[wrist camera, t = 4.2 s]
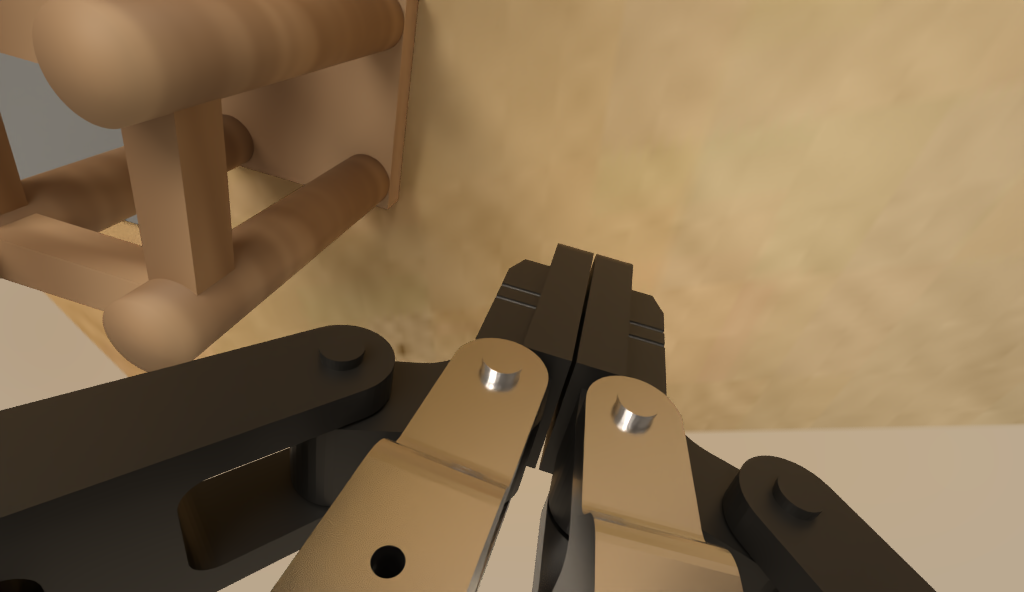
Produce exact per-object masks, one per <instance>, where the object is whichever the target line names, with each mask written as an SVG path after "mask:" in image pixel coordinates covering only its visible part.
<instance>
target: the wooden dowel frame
mask: <svg viewBox="0 0 1024 592" xmlns="http://www.w3.org/2000/svg"><path fill="white" fill-rule="evenodd" d="M418 1H419V0H0V53H3V54H7V55H10V56H14V57H17V58H21V59H24V60H28V61H31V62H34V63H38V64H39V66H40V68H41V70H42V72H43V74H44V76H45V78H46V80H47V82H48V83H49V85H50V86H51V88H52V89H53V91H54V92H55V93H56V94H57V96H58V97H59V98H60V99H61V100H62V101H63V102H64V103H65V104H66V106H68V107H69V108H70V109H71V110H72V111H73V112H74V113H76V114H77V115H78V116H80V117H81V118H83V119H84V120H86V121H88V122H90V123H92V124H94V125H97V126H99V127H103V128H107V129H121V132H122V138H123V143H124V146H122V147H119V148H116V149H113V150H110V151H107V152H104V153H101V154H98V155H95V156H92V157H89V158H86V159H83V160H80V161H77V162H74V163H71V164H68V165H64V166H61V167H58V168H55V169H52V170H49V171H46V172H43V173H40V174H37V175H34V176H31V177H28V178H25V179H22V180H20V176H19V173H18V170H17V166H16V163H15V160H14V156H13V153H12V150H11V146H10V143H9V140H8V136H7V133H6V130H5V126H4V123H3V120H2V116H1V113H0V278H3V279H6V280H9V281H12V282H15V283H19V284H21V285H24V286H27V287H30V288H34V289H37V290H40V291H43V292H46V293H49V294H52V295H55V296H58V297H61V298H64V299H68V300H71V301H74V302H77V303H80V304H83V305H86V306H89V307H92V308H95V309H99V310H102V311H104V313H103V326H104V329H105V332H106V334H107V337H108V338H109V340H110V342H111V343H112V345H113V346H114V347H115V348H116V350H117V351H118V352H119V353H120V354H121V355H122V356H123V357H124V358H125V359H127V360H128V361H129V362H131V363H132V364H134V365H135V366H137V367H138V368H140V369H142V370H144V371H146V372H151V371H155V370H159V369H163V368H166V367H170V366H174V365H178V364H182V363H186V362H190V361H193V360H194V359H195V358H196V357H197V356H198V355H200V354H201V353H202V352H203V351H204V350H206V349H207V348H208V347H209V346H210V345H211V344H213V343H214V342H215V341H216V340H217V339H219V338H220V337H221V336H222V335H223V334H224V333H226V332H227V331H228V330H229V329H230V328H232V327H233V326H234V325H235V324H236V323H237V322H239V321H240V320H241V319H242V318H243V317H245V316H246V315H247V314H248V313H249V312H250V311H252V310H253V309H254V308H255V307H256V306H258V305H259V304H260V303H261V302H262V301H264V300H265V299H266V298H267V297H268V296H269V295H271V294H272V293H273V292H274V291H275V290H277V289H278V288H279V287H280V286H281V285H282V284H284V283H285V282H286V281H287V280H288V279H290V278H291V277H292V276H293V275H294V274H295V273H297V272H298V271H299V270H300V269H301V268H303V267H304V266H305V265H306V264H307V263H308V262H310V261H311V260H312V259H313V258H314V257H316V256H317V255H318V254H319V253H320V252H321V251H323V250H324V249H325V248H326V247H327V246H329V245H330V244H331V243H332V242H333V241H334V240H336V239H337V238H338V237H339V236H340V235H342V234H343V233H344V232H345V231H346V230H347V229H349V228H350V227H351V226H352V225H353V224H355V223H356V222H357V221H358V220H359V219H361V218H362V217H363V216H364V215H365V214H366V213H368V212H369V211H370V210H371V209H372V208H374V207H375V206H377V207H381V208H384V209H389V208H390V207H391V206H392V205H393V204H394V203H395V202H396V201H397V200H398V197H399V187H400V177H401V168H402V158H403V148H404V138H405V128H406V119H407V109H408V99H409V89H410V79H411V69H412V60H413V50H414V40H415V30H416V20H417V10H418ZM238 166H242V167H245V168H249V169H252V170H255V171H259V172H262V173H266V174H269V175H272V176H276V177H279V178H283V179H286V180H289V181H293V182H296V183H299V184H303V185H304V186H302V187H300V188H299V189H297V190H295V191H294V192H292V193H291V194H289V195H287V196H286V197H284V198H282V199H281V200H279V201H278V202H276V203H274V204H273V205H271V206H269V207H268V208H266V209H264V210H263V211H261V212H260V213H258V214H256V215H255V216H253V217H251V218H250V219H248V220H247V221H245V222H243V223H242V224H240V225H238V226H237V227H235V228H233V229H232V228H231V215H230V203H229V190H228V178H227V172H228V171H230V170H232V169H234V168H236V167H238ZM136 214H137V219H138V225H139V230H140V236H141V241H142V246H140V245H137V244H133V243H130V242H127V241H124V240H121V239H117V238H114V237H111V236H108V235H104V234H101V233H98V232H100V231H102V230H104V229H106V228H108V227H111V226H113V225H115V224H117V223H119V222H121V221H123V220H125V219H128V218H130V217H132V216H134V215H136Z"/></svg>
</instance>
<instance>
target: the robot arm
mask: <svg viewBox="0 0 1024 592" xmlns="http://www.w3.org/2000/svg"><path fill="white" fill-rule="evenodd" d="M593 255H594V253H590V252H587V251H583V250H580V249H577V248H573V247H570V246H566V245H563V244H559V243H558V245H557V248H556V251H555V254H554V257H553V260H552V263H551V266H547V265H543V264H540V263H537V262H533V261H530V260H526V259H525V260H523V261H522V262H520V263H518V264H516V265H515V266H513V267H511V268H509V270H508V272H507V274H506V277H505V279H504V281H503V283H502V286H501V287H500V289H499V291H498V293H497V296H496V298H495V300H494V302H493V304H492V306H491V308H490V310H489V312H488V314H487V316H486V318H485V320H484V323H483V325H482V327H481V329H480V331H479V333H478V335H477V337H476V339H475V340H473V341H470V342H468V343H466V344H464V345H463V346H461V347H460V348H459V349H458V350H457V352H456V353H455V354H454V356H453V357H452V359H451V360H448V361H444V362H439V363H412V362H397V361H395V355H394V351H393V349H392V347H391V346H390V344H389V343H388V342H387V341H386V340H385V339H384V338H383V337H381V336H380V335H379V334H377V333H375V332H373V331H371V330H368V329H365V328H361V327H357V326H350V325H332V326H325V327H321V328H317V329H313V330H309V331H305V332H301V333H297V334H294V335H290V336H286V337H282V338H278V339H274V340H270V341H267V342H263V343H259V344H255V345H251V346H247V347H243V348H240V349H236V350H232V351H228V352H224V353H220V354H217V355H213V356H209V357H205V358H201V359H197V360H193V361H190V362H186V363H182V364H178V365H174V366H170V367H166V368H163V369H159V370H155V371H151V372H147V373H143V374H140V375H136V376H132V377H128V378H124V379H120V380H117V381H113V382H109V383H105V384H101V385H97V386H93V387H90V388H86V389H82V390H78V391H74V392H71V393H67V394H63V395H59V396H55V397H51V398H48V399H43V400H39V401H36V402H32V403H28V404H24V405H20V406H16V407H13V408H9V409H5V410H1V411H0V592H217V591H219V590H221V589H223V588H225V587H227V586H229V585H231V584H233V583H234V582H237V581H239V580H241V579H242V578H244V577H246V576H248V575H250V574H252V573H254V572H256V571H258V570H260V569H262V568H264V567H266V566H268V565H270V564H272V563H274V562H276V561H278V560H280V559H282V558H284V557H286V556H288V555H290V554H292V553H294V552H296V551H298V550H299V552H298V553H297V555H296V556H295V558H294V559H293V560H292V562H291V563H290V565H289V566H288V568H287V569H286V570H285V572H284V573H283V575H282V576H281V578H280V579H279V580H278V582H277V583H276V585H275V586H274V587H273V589H272V590H271V592H477V591H478V588H479V586H480V582H481V580H482V577H483V575H484V572H485V569H486V566H487V564H488V561H489V558H490V555H491V553H492V550H493V547H494V545H495V542H496V539H497V536H498V534H499V531H500V528H501V525H502V522H503V520H504V517H505V514H506V512H507V509H508V506H509V503H510V500H511V498H512V497H513V496H514V495H515V493H516V492H517V490H518V488H519V486H520V482H521V479H522V477H523V473H524V471H525V467H526V466H529V467H532V468H535V467H536V464H537V461H538V458H539V455H540V452H541V449H542V446H543V444H544V441H545V445H544V449H543V454H542V458H541V462H540V468H539V470H542V471H545V472H548V473H551V474H553V476H552V481H551V486H550V491H549V494H548V497H547V500H546V502H545V504H544V507H543V510H542V513H541V518H540V526H539V536H538V544H537V553H536V562H535V571H534V580H533V588H532V592H936V591H935V590H934V589H933V588H932V587H931V586H930V585H929V584H928V583H927V582H926V581H925V580H924V579H923V578H922V577H921V576H920V575H919V574H918V573H917V572H916V571H915V570H914V569H913V568H911V567H910V565H908V564H907V562H905V561H904V560H903V559H902V558H901V557H900V556H899V555H898V554H897V553H896V552H895V551H894V550H893V549H892V548H891V547H890V546H889V545H888V544H887V543H886V542H885V541H884V540H883V539H882V538H881V537H880V536H879V535H878V534H877V533H876V532H875V531H874V530H873V529H872V528H871V527H869V525H868V524H867V523H866V522H865V521H864V520H863V519H861V518H860V517H859V516H858V515H857V514H856V513H855V512H854V511H853V510H852V509H851V508H850V507H849V506H848V505H847V504H846V503H845V502H844V501H843V500H842V499H841V498H840V497H839V496H838V495H837V494H836V493H835V492H834V491H833V490H832V489H831V488H830V487H829V486H828V485H827V484H825V483H824V482H823V481H822V480H821V479H820V478H818V477H817V476H816V475H814V474H813V473H811V472H810V471H808V470H807V469H805V468H803V467H801V466H799V465H797V464H796V463H793V462H791V461H788V460H786V459H782V458H779V457H774V456H758V457H753V458H751V459H749V460H748V461H746V462H745V463H744V464H743V466H742V467H741V469H740V470H739V469H737V468H735V467H734V466H732V465H730V464H729V463H727V462H725V461H723V460H722V459H719V458H718V457H716V456H714V455H712V454H711V453H709V452H708V451H706V450H704V449H703V448H701V447H699V446H698V445H697V444H695V443H694V442H693V441H692V440H690V439H689V438H688V437H687V436H686V435H685V430H684V424H683V420H682V417H681V414H680V412H679V410H678V409H677V407H676V406H675V404H674V403H673V402H672V401H671V400H670V399H669V398H668V397H667V395H666V368H665V348H664V344H665V341H664V333H663V332H664V313H663V312H662V310H661V309H660V307H659V306H658V304H657V303H656V301H655V299H654V298H653V296H650V295H647V294H644V293H640V292H637V291H633V290H632V273H633V265H632V264H629V263H626V262H622V261H619V260H615V259H612V258H608V257H605V256H601V255H598V254H596V256H595V259H594V262H593V265H592V260H593ZM591 265H592V268H591ZM590 269H591V271H590ZM546 435H547V436H546ZM545 438H546V440H545ZM288 447H290V448H288ZM285 448H288V449H285ZM283 449H285V450H283ZM281 450H283V451H281ZM278 451H280V452H278ZM275 452H278V453H275ZM273 453H275V454H273ZM270 454H272V455H270ZM268 455H270V456H268ZM265 456H267V457H265ZM262 457H265V458H262ZM260 458H262V459H260ZM257 459H259V460H257ZM254 460H257V461H254ZM252 461H254V462H252ZM249 462H252V463H249ZM247 463H249V464H247ZM244 464H246V465H244ZM242 465H244V466H242ZM239 466H241V467H239ZM236 467H239V468H236ZM234 468H236V469H234ZM231 469H233V470H231ZM228 470H231V471H228ZM226 471H228V472H226ZM223 472H226V473H223ZM221 473H223V474H221ZM218 474H221V475H218ZM216 475H218V476H216ZM213 476H216V477H213ZM210 477H213V478H210ZM208 478H210V479H208ZM206 479H208V480H206ZM204 480H205V481H204Z"/></svg>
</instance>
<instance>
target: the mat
mask: <svg viewBox="0 0 1024 592" xmlns="http://www.w3.org/2000/svg"><path fill="white" fill-rule="evenodd" d="M0 113H1V116H2V120H3V123H4V126H5V130H6V133H7V136H8V140H9V143H10V146H11V150H12V153H13V156H14V160H15V163H16V166H17V170H18V173H19V176H20V180H22V179H25V178H28V177H31V176H34V175H37V174H40V173H43V172H46V171H49V170H52V169H55V168H58V167H61V166H64V165H68V164H71V163H74V162H77V161H80V160H83V159H86V158H89V157H92V156H95V155H98V154H101V153H104V152H107V151H110V150H113V149H116V148H119V147H122V146H124V143H123V138H122V132H121V129H107V128H103V127H99V126H97V125H94V124H92V123H90V122H88V121H86V120H84V119H83V118H81V117H80V116H78V115H77V114H76V113H74V112H73V111H72V110H71V109H70V108H69V107H68V106H66V104H65V103H64V102H63V101H62V100H61V99H60V98H59V97H58V96H57V94H56V93H55V92H54V91H53V89H52V88H51V86H50V85H49V83H48V82H47V80H46V78H45V76H44V74H43V72H42V70H41V68H40V66H39V64H38V63H34V62H31V61H28V60H24V59H21V58H17V57H14V56H10V55H7V54H3V53H0ZM125 220H126V221H129V222H132V223H136V224H138V219H137V214H136V215H134V216H132V217H130V218H128V219H125Z"/></svg>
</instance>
